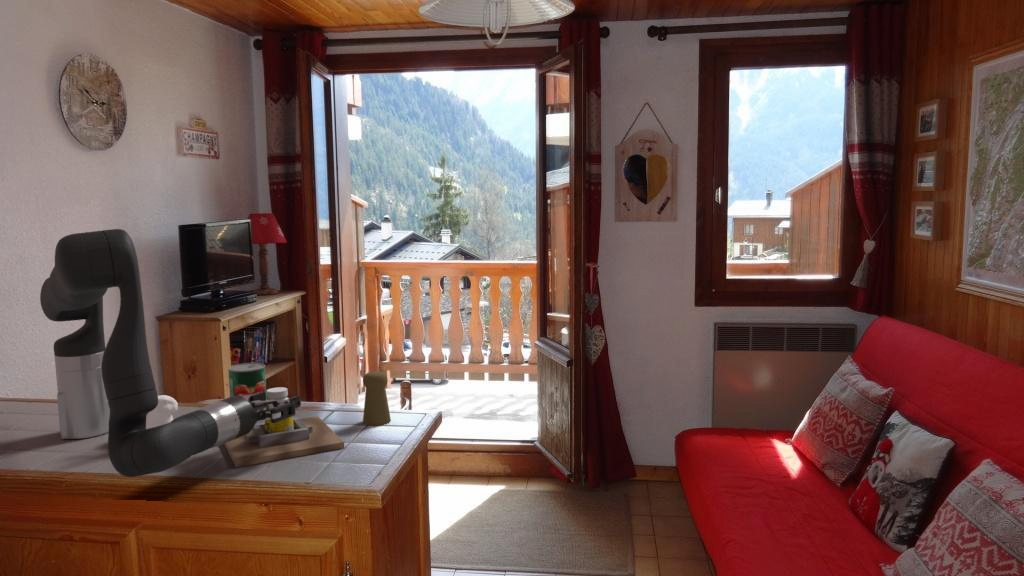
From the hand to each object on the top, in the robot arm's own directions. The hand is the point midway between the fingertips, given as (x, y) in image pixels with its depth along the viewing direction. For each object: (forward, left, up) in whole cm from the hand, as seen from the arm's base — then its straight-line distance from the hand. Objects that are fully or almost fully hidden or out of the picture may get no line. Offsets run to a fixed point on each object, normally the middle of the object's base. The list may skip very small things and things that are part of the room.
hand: (281, 398), depth 145 cm
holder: (-1, -1, -9) cm, 9 cm away
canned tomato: (-3, +23, -9) cm, 25 cm away
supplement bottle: (-1, -1, -8) cm, 8 cm away
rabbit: (-23, +14, -9) cm, 28 cm away
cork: (+20, +2, -9) cm, 22 cm away
